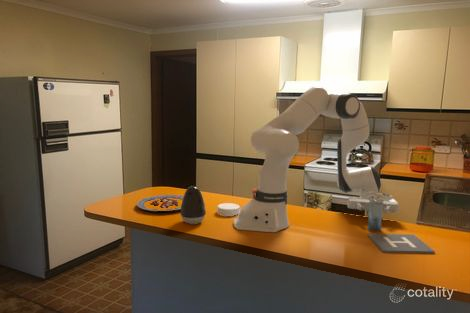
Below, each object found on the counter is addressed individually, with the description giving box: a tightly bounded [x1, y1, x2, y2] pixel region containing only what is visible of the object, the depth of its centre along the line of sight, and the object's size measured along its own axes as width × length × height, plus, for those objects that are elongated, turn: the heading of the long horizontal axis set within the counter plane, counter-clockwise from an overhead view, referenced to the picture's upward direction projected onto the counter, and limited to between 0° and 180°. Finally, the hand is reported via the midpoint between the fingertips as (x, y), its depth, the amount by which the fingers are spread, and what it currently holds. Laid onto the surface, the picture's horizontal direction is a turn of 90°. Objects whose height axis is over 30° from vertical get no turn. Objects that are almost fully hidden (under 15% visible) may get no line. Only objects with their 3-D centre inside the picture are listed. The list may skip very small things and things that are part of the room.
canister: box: [367, 198, 384, 233], centre depth 141 cm, size 5×5×12 cm
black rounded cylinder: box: [180, 185, 207, 225], centre depth 147 cm, size 10×10×15 cm
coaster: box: [216, 202, 241, 217], centre depth 161 cm, size 10×10×4 cm
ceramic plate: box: [136, 194, 184, 212], centre depth 170 cm, size 26×26×3 cm
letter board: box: [367, 233, 436, 255], centre depth 128 cm, size 17×15×1 cm
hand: (373, 209), depth 146 cm, fingers open, 8 cm apart
